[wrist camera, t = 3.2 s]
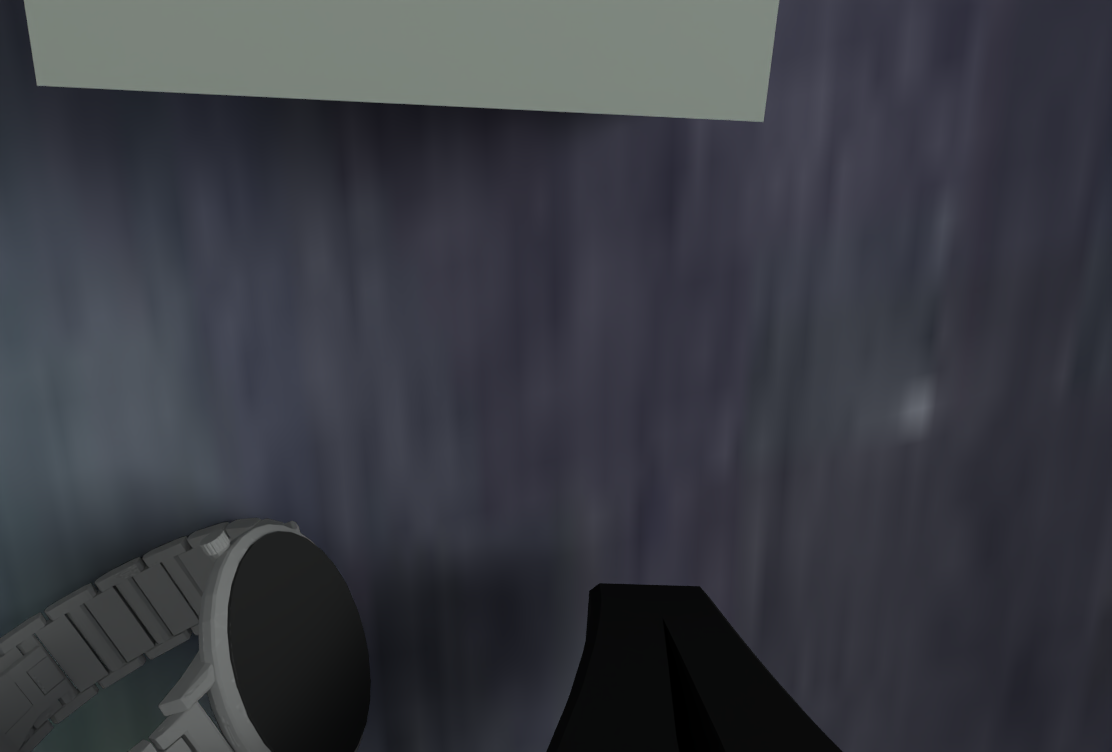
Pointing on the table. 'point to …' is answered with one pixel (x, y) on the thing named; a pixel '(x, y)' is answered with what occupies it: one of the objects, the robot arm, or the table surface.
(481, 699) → the table surface
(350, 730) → the wristwatch
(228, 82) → the sage block
